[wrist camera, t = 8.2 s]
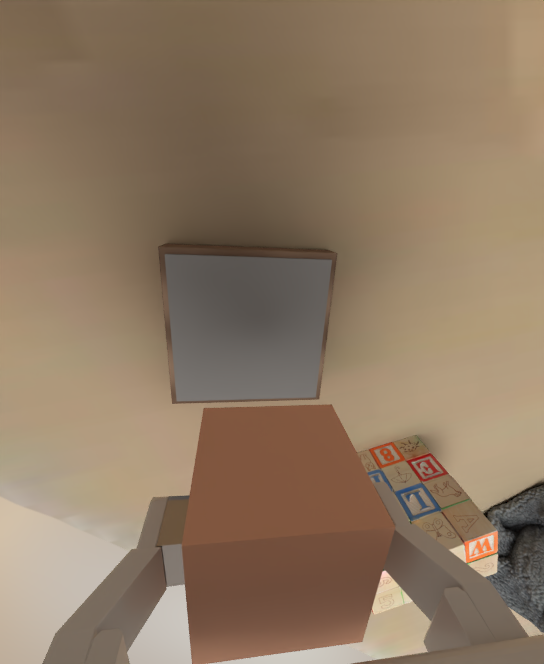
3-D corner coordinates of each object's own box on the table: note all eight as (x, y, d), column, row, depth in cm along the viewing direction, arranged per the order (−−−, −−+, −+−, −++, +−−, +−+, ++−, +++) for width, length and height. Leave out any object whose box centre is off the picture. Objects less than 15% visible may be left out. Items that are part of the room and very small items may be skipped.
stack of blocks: (264, 519, 38) (278, 647, 27) (250, 486, 36) (257, 612, 24) (420, 469, 38) (500, 575, 27) (416, 433, 36) (502, 533, 24)
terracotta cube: (203, 408, 11) (181, 546, 6) (331, 404, 12) (395, 527, 7) (207, 504, 13) (192, 665, 8) (318, 496, 13) (362, 642, 9)
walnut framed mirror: (165, 243, 24) (157, 247, 22) (327, 250, 26) (338, 253, 23) (177, 388, 29) (171, 406, 27) (312, 385, 31) (320, 401, 28)
